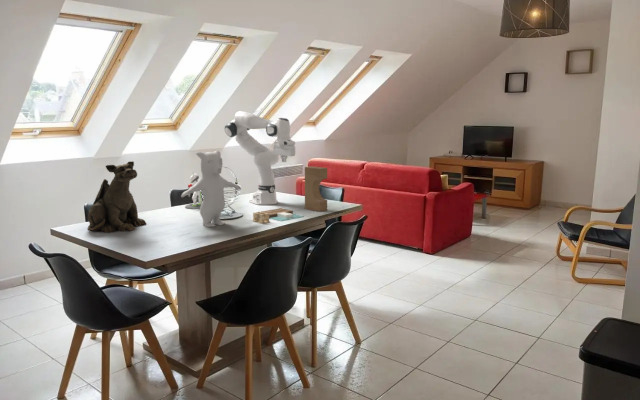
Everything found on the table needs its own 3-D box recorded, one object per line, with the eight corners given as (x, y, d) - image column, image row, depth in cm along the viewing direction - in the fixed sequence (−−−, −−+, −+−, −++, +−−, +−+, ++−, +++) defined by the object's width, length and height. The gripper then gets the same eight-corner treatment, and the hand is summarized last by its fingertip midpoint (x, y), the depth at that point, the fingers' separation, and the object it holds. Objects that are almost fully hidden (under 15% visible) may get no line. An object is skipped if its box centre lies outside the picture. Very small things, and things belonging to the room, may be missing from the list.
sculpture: (118, 237, 283) (113, 165, 276) (76, 229, 300) (70, 162, 293) (160, 226, 309) (156, 160, 302) (119, 220, 327) (115, 158, 320)
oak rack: (252, 221, 323) (252, 212, 322) (260, 219, 327) (260, 211, 326) (262, 223, 316) (261, 215, 315) (269, 222, 320) (269, 213, 319)
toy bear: (191, 233, 292) (188, 154, 284) (176, 228, 304) (172, 153, 296) (250, 221, 322) (248, 150, 314) (234, 217, 334) (232, 148, 326)
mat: (268, 218, 332) (268, 217, 332) (292, 214, 345) (292, 213, 345) (280, 221, 323) (280, 220, 323) (304, 216, 337) (304, 216, 337)
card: (277, 216, 337) (277, 213, 336) (284, 215, 341) (284, 212, 340) (285, 218, 330) (285, 215, 330) (293, 217, 334) (292, 214, 334)
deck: (255, 215, 341) (255, 212, 340) (280, 210, 356) (280, 208, 355) (267, 218, 331) (267, 215, 331) (292, 213, 346) (292, 210, 346)
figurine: (195, 204, 381) (193, 170, 377) (213, 205, 374) (212, 172, 370) (180, 208, 366) (178, 173, 362) (199, 209, 359) (197, 174, 355)
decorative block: (327, 210, 358) (327, 167, 353) (320, 211, 352) (320, 168, 347) (311, 207, 368) (311, 166, 363) (304, 209, 362) (304, 167, 357)
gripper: (270, 141, 354) (271, 161, 356) (289, 142, 339) (289, 163, 342) (277, 141, 358) (278, 160, 361) (296, 142, 344) (297, 162, 346)
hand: (284, 162), depth 351 cm, fingers closed
